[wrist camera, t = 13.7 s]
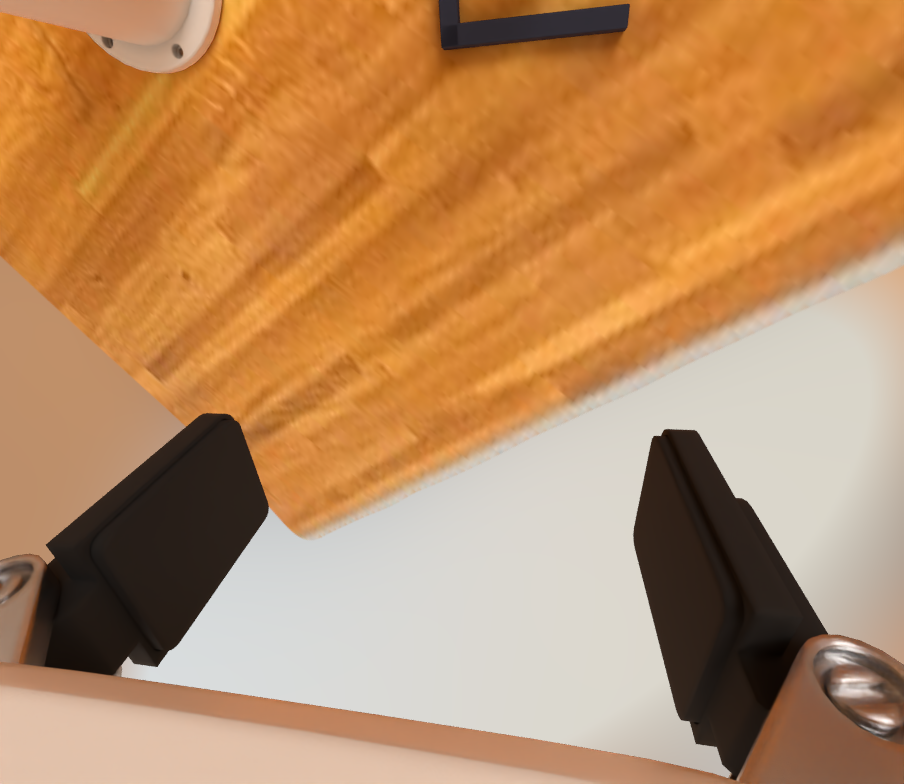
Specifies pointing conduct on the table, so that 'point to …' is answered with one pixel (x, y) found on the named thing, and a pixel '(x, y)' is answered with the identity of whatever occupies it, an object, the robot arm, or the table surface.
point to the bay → (528, 26)
